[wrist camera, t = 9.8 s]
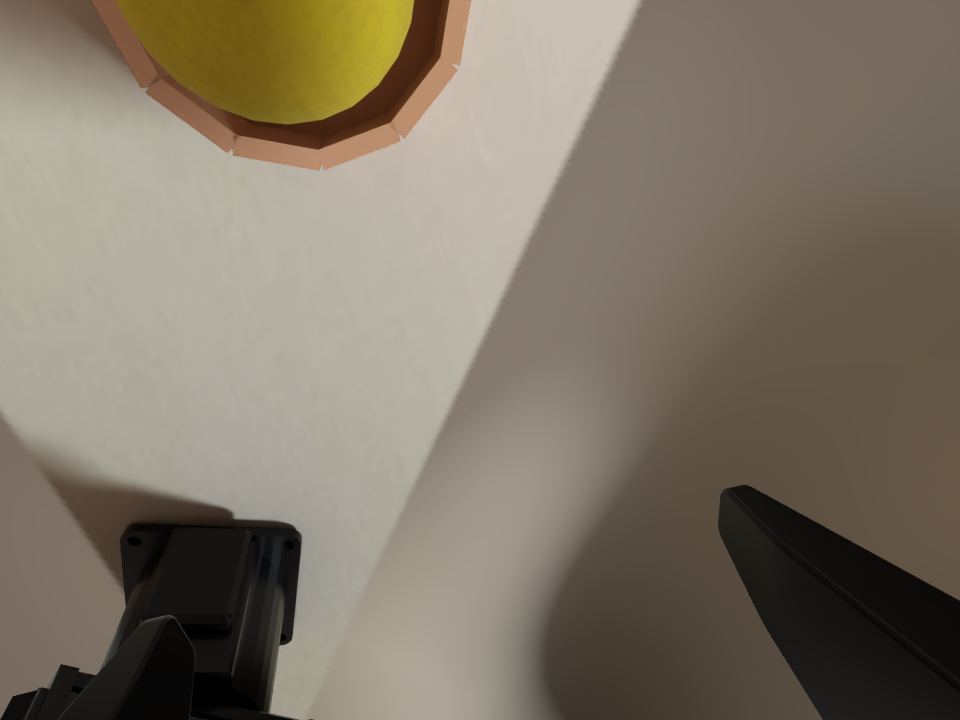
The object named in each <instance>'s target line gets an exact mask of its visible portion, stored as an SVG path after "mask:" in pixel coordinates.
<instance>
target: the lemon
mask: <svg viewBox="0 0 960 720" xmlns="http://www.w3.org/2000/svg"><path fill="white" fill-rule="evenodd" d="M116 1H117V3H118V6H119V8H120V11H121V13H122V15H123V16H124V18H125V19H126V21H127V22H128V24H129V25H130V27H131V28H132V30H133V31H134V33H135V34H136V36H137V37H138V39H139V40H140V42H141V43H142V45H143V46H144V48H145V49H146V50H147V52H148V53H149V54H150V55H151V56H152V57H153V58H154V59H155V60H156V61H157V62H158V63H159V64H160V65H161V66H162V67H163V68H164V69H165V70H166V71H167V72H168V73H169V74H170V75H171V76H172V77H173V78H174V79H175V80H176V81H177V82H178V83H180V84H181V85H183V86H184V87H186V88H187V89H189V90H190V91H192V92H193V93H195V94H197V95H198V96H200V97H201V98H203V99H204V100H206V101H207V102H209V103H210V104H212V105H213V106H215V107H218V108H220V109H223V110H226V111H228V112H231V113H234V114H236V115H239V116H242V117H244V118H247V119H250V120H253V121H262V122H271V123H279V124H295V123H302V122H309V121H316V120H322V119H325V118H327V117H330V116H332V115H334V114H336V113H339V112H341V111H343V110H346V109H348V108H350V107H352V106H354V105H355V104H356V103H357V102H359V101H360V100H361V99H362V98H363V97H365V96H366V95H367V94H368V93H369V92H371V91H372V90H373V89H374V88H375V87H377V86H378V85H379V83H380V82H381V81H382V79H383V78H384V76H385V75H386V73H387V72H388V71H389V69H390V68H391V66H392V65H393V63H394V62H395V61H396V59H397V58H398V56H399V53H400V51H401V48H402V45H403V43H404V40H405V37H406V35H407V32H408V30H409V27H410V24H411V20H412V12H413V5H414V0H116Z"/></svg>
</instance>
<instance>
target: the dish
mask: <svg viewBox="0 0 960 720" xmlns="http://www.w3.org/2000/svg"><path fill="white" fill-rule="evenodd" d="M91 1H92V3H93V5H94V6H95V8H96V10H97V12H98V13H99V15H100V17H101V19H102V20H103V22H104V24H105V26H106V27H107V29H108V31H109V33H110V34H111V36H112V38H113V40H114V41H115V43H116V45H117V47H118V48H119V50H120V52H121V54H122V55H123V57H124V59H125V61H126V62H127V64H128V66H129V68H130V69H131V71H132V73H133V75H134V76H135V78H136V80H137V82H138V83H139V85H140V87H141V88H143V87H147V86H149V88H148V89H147V91H146V92H145V93H146V94H148V95H149V96H151V97H152V98H153V99H155V100H156V101H157V102H159V103H160V104H161V105H163V106H164V107H166V108H167V109H168V110H170V111H171V112H172V113H174V114H175V115H176V116H178V117H179V118H180V119H182V120H183V121H185V122H186V123H187V124H189V125H190V126H191V127H193V128H194V129H195V130H197V131H198V132H200V133H201V134H202V135H204V136H205V137H206V138H208V139H209V140H210V141H212V142H213V143H215V144H216V145H217V146H219V147H220V148H221V149H223V150H224V151H225V152H227V153H229V152H230V151H231V150H232V149H233V156H239V157H245V158H251V159H256V160H262V161H268V162H274V163H280V164H285V165H291V166H297V167H303V168H308V169H314V170H320V168H321V165H322V166H323V168H324V170H326V169H328V168H331V167H334V166H336V165H339V164H342V163H344V162H347V161H350V160H352V159H355V158H357V157H360V156H363V155H365V154H368V153H371V152H373V151H376V150H379V149H381V148H384V147H387V146H389V145H392V144H395V143H397V142H400V141H401V140H400V137H399V134H400V135H401V136H402V137H403V138H405V137H406V136H407V135H408V133H409V132H410V131H411V129H412V128H413V127H414V126H415V124H416V123H417V122H418V120H419V119H420V118H421V117H422V115H423V114H424V113H425V112H426V110H427V109H428V108H429V106H430V105H431V104H432V103H433V101H434V100H435V99H436V97H437V96H438V95H439V94H440V92H441V91H442V90H443V88H444V87H445V86H446V85H447V83H448V82H449V81H450V80H451V78H452V77H453V76H454V74H455V73H456V72H457V71H458V70H457V69H456V68H455V67H454V66H453V65H452V64H455V65H460V62H461V56H462V50H463V44H464V38H465V33H466V27H467V21H468V15H469V10H470V4H471V0H414V5H413V12H412V20H411V24H410V27H409V30H408V32H407V35H406V37H405V40H404V43H403V45H402V48H401V51H400V53H399V56H398V58H397V59H396V61H395V62H394V63H393V65H392V66H391V68H390V69H389V71H388V72H387V73H386V75H385V76H384V78H383V79H382V81H381V82H380V83H379V85H378V86H377V87H375V88H374V89H373V90H372V91H371V92H369V93H368V94H367V95H366V96H365V97H363V98H362V99H361V100H360V101H359V102H357V103H356V104H355V105H354V106H352V107H350V108H348V109H346V110H343V111H341V112H339V113H336V114H334V115H332V116H330V117H327V118H325V119H322V120H316V121H309V122H302V123H295V124H279V123H271V122H262V121H253V120H250V119H247V118H244V117H242V116H239V115H236V114H234V113H231V112H228V111H226V110H223V109H220V108H218V107H215V106H213V105H212V104H210V103H209V102H207V101H206V100H204V99H203V98H201V97H200V96H198V95H197V94H195V93H193V92H192V91H190V90H189V89H187V88H186V87H184V86H183V85H181V84H180V83H178V82H177V81H176V80H175V79H174V78H173V77H172V76H171V75H170V74H169V73H168V72H167V71H166V70H165V69H164V68H163V67H162V66H161V65H160V64H159V63H158V62H157V61H156V60H155V59H154V58H153V57H152V56H151V55H150V54H149V53H148V52H147V50H146V49H145V48H144V46H143V45H142V43H141V42H140V40H139V39H138V37H137V36H136V34H135V33H134V31H133V30H132V28H131V27H130V25H129V24H128V22H127V21H126V19H125V18H124V16H123V15H122V13H121V11H120V8H119V6H118V3H117V1H116V0H91Z"/></svg>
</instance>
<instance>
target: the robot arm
mask: <svg viewBox="0 0 960 720" xmlns="http://www.w3.org/2000/svg"><path fill="white" fill-rule="evenodd" d="M718 528H719V533H720V536H721V538H722V541H723V543H724V545H725V547H726V549H727V551H728V553H729V555H730V557H731V559H732V561H733V563H734V565H735V567H736V569H737V571H738V573H739V576H740V578H741V580H742V582H743V584H744V586H745V588H746V590H747V592H748V594H749V596H750V598H751V600H752V602H753V604H754V606H755V608H756V610H757V612H758V614H759V616H760V618H761V620H762V622H763V624H764V625H765V627H766V629H767V631H768V632H769V634H770V635H771V637H772V639H773V640H774V642H775V644H776V645H777V647H778V648H779V650H780V652H781V653H782V655H783V656H784V658H785V660H786V661H787V663H788V665H789V666H790V668H791V669H792V671H793V672H794V674H795V676H796V677H797V679H798V680H799V682H800V684H801V685H802V687H803V689H804V690H805V692H806V693H807V695H808V697H809V698H810V700H811V701H812V703H813V704H814V706H815V708H816V709H817V711H818V713H819V714H820V716H821V717H822V719H823V720H960V600H958V599H956V598H954V597H952V596H951V595H948V594H947V593H945V592H943V591H941V590H940V589H938V588H935V587H934V586H932V585H930V584H928V583H927V582H925V581H923V580H921V579H920V578H918V577H916V576H914V575H912V574H910V573H908V572H906V571H905V570H903V569H901V568H899V567H897V566H896V565H894V564H892V563H890V562H888V561H886V560H885V559H883V558H881V557H879V556H877V555H875V554H874V553H872V552H870V551H868V550H866V549H864V548H863V547H861V546H859V545H857V544H855V543H853V542H851V541H850V540H848V539H846V538H844V537H843V536H841V535H839V534H837V533H835V532H833V531H831V530H830V529H828V528H826V527H824V526H822V525H821V524H819V523H817V522H815V521H813V520H811V519H809V518H808V517H806V516H804V515H802V514H800V513H798V512H797V511H795V510H793V509H791V508H789V507H788V506H786V505H784V504H782V503H780V502H778V501H777V500H775V499H773V498H771V497H769V496H768V495H766V494H764V493H762V492H760V491H758V490H757V489H755V488H753V487H751V486H748V485H740V486H736V487H731V488H726V489H724V490H723V491H722V493H721V496H720V507H719V520H718ZM133 536H137V537H140V538H135V537H133ZM285 541H292V542H291V543H287V542H285ZM120 544H121V556H122V568H123V579H124V591H125V602H126V609H125V611H124V614H123V616H122V618H121V621H120V623H119V626H118V628H117V631H116V633H115V636H114V638H113V641H112V643H111V645H110V648H109V650H108V652H107V655H106V657H105V660H104V662H103V665H102V667H101V669H100V671H99V673H98V674H97V675H92V674H87V673H83V672H78V671H79V668H76V667H71V666H66V665H62V664H61V665H60V666H59V668H58V670H57V671H56V673H55V675H54V677H53V678H52V680H51V682H50V683H49V685H48V687H47V688H42V687H41V688H38V690H36V691H32V692H28V693H24V694H20V695H16V696H13V697H12V699H11V701H10V702H9V704H8V706H7V708H6V710H5V712H4V714H3V716H2V717H1V719H0V720H298V719H294V718H289V717H284V716H280V715H275V714H271V713H270V708H271V701H272V693H273V686H274V679H275V672H276V665H277V658H278V651H279V645H285V644H287V643H289V642H290V641H291V640H292V636H293V627H294V617H295V607H296V596H297V586H298V576H299V565H300V555H301V545H302V535H301V534H300V533H299V532H298V531H296V530H294V529H280V528H252V527H224V526H195V525H167V524H131V525H129V526H127V527H126V528H125V530H124V532H123V534H122V536H121V539H120ZM309 720H312V719H309Z"/></svg>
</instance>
